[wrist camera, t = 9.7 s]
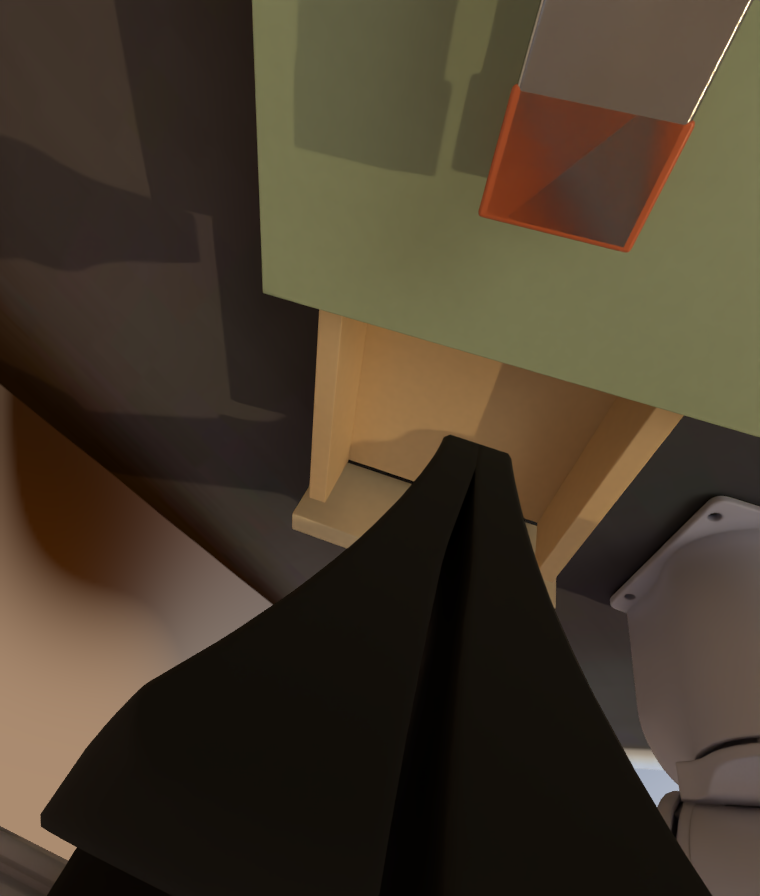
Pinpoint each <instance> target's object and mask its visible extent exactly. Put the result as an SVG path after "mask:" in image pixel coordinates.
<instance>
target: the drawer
mask: <svg viewBox="0 0 760 896" xmlns="http://www.w3.org/2000/svg"><path fill="white" fill-rule="evenodd" d="M683 416H684V415H681V414H677V413H674V412H670V411H667V410H664V409H660V408H657V407H653V406H650V405H646V404H643V403H640V402H636V401H633V400H629V399H626V398H622V397H619V396H615V395H612V394H609V393H605V392H602V391H598V390H595V389H591V388H588V387H584V386H581V385H578V384H574V383H571V382H567V381H564V380H560V379H557V378H553V377H550V376H547V375H543V374H540V373H536V372H533V371H529V370H526V369H523V368H519V367H516V366H512V365H509V364H505V363H502V362H498V361H495V360H492V359H488V358H485V357H481V356H478V355H474V354H471V353H467V352H464V351H461V350H457V349H454V348H450V347H447V346H443V345H440V344H437V343H433V342H430V341H426V340H423V339H419V338H416V337H412V336H409V335H406V334H402V333H399V332H395V331H392V330H388V329H385V328H381V327H378V326H375V325H371V324H368V323H364V322H361V321H357V320H354V319H351V318H347V317H344V316H340V315H337V314H333V313H330V312H326V311H323V310H320V309H319V321H318V339H317V358H316V376H315V395H314V414H313V432H312V451H311V469H310V486H309V487H308V489H307V491H306V492H305V494H304V496H303V497H302V499H301V500H300V502H299V504H298V505H297V507H296V509H295V510H294V512H293V513H292V529H295V530H297V531H300V532H303V533H306V534H308V535H311V536H314V537H317V538H319V539H322V540H325V541H328V542H330V543H333V544H336V545H339V546H342V547H344V548H348V547H350V546H351V545H352V544H353V543H354V542H355V541H356V540H358V539H359V538H360V537H361V536H362V535H363V534H364V533H365V532H366V531H367V530H369V529H370V528H371V527H372V526H373V525H374V524H375V523H376V522H377V521H378V520H379V519H380V518H381V517H382V516H383V515H384V514H385V513H386V512H387V511H388V510H389V509H390V508H391V507H392V506H393V505H394V504H395V503H396V502H397V500H398V499H399V498H400V497H401V496H402V495H403V494H404V493H405V492H406V490H407V489H408V488H409V487H410V486H411V484H410V483H407V482H404V481H401V480H398V479H395V478H392V477H389V476H386V475H383V474H381V473H378V472H375V471H372V470H369V469H366V468H363V467H360V466H357V465H354V464H351V463H348V460H352V461H355V462H358V463H361V464H364V465H367V466H370V467H373V468H376V469H379V470H382V471H385V472H388V473H391V474H394V475H397V476H400V477H403V478H406V479H409V480H412V481H415V480H416V479H417V477H418V476H419V475H420V474H421V473H422V471H423V470H424V469H425V467H426V466H427V465H428V463H429V462H430V460H431V459H432V458H433V456H434V455H435V453H436V451H437V450H438V448H439V446H440V444H441V442H442V440H443V437H445V436H448V435H453V436H456V437H460V438H463V439H466V440H469V441H472V442H475V443H478V444H481V445H484V446H487V447H490V448H493V449H496V450H499V451H502V452H505V453H508V454H509V455H510V457H511V459H512V466H513V472H514V477H515V483H516V487H517V492H518V496H519V500H520V505H521V509H522V513H523V516H524V518H525V519H528V520H531V521H534V522H537V526H535V525H532V524H529V523H526V522H525V524H526V527H527V530H528V534H529V537H530V541H531V544H532V547H533V551H534V554H535V557H536V560H537V563H538V566H539V569H540V572H541V574H542V577H543V580H544V583H545V585H546V588H547V591H548V594H549V596H550V599H551V601H552V604H553V606H554V609H555V608H556V577H557V576H558V574H559V573H560V572H561V571H562V569H563V568H564V567H565V565H566V564H567V563H568V562H569V560H570V559H571V558H572V557H573V555H574V554H575V553H576V552H577V550H578V549H579V548H580V546H581V545H582V544H583V543H584V541H585V540H586V539H587V538H588V536H589V535H590V534H591V533H592V531H593V530H594V529H595V527H596V526H597V525H598V524H599V522H600V521H601V520H602V519H603V517H604V516H605V515H606V514H607V512H608V511H609V510H610V508H611V507H612V506H613V505H614V503H615V502H616V501H617V500H618V498H619V497H620V496H621V495H622V493H623V492H624V491H625V489H626V488H627V487H628V486H629V484H630V483H631V482H632V481H633V479H634V478H635V477H636V475H637V474H638V473H639V472H640V470H641V469H642V468H643V467H644V465H645V464H646V463H647V462H648V460H649V459H650V458H651V456H652V455H653V454H654V453H655V451H656V450H657V449H658V448H659V446H660V445H661V444H662V443H663V441H664V440H665V439H666V437H667V436H668V435H669V434H670V432H671V431H672V430H673V429H674V427H675V426H676V425H677V424H678V422H679V421H680V420H681V418H682V417H683Z"/></svg>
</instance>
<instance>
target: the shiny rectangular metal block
mask: <svg viewBox="0 0 760 896" xmlns="http://www.w3.org/2000/svg"><path fill="white" fill-rule="evenodd" d="M753 1H754V0H540V3H539V6H538V10H537V13H536V17H535V21H534V24H533V28H532V31H531V35H530V39H529V42H528V46H527V50H526V53H525V57H524V60H523V64H522V68H521V71H520V75H519V79H518V82H517V84H515V85H514V86H513V87H512V89H511V93H510V97H509V100H508V104H507V108H506V111H505V115H504V119H503V122H502V126H501V130H500V133H499V137H498V141H497V145H496V148H495V152H494V156H493V159H492V163H491V167H490V170H489V174H488V178H487V181H486V185H485V189H484V192H483V196H482V200H481V204H480V207H479V211H478V214H479V216H480V217H483V218H487V219H491V220H495V221H499V222H503V223H507V224H511V225H515V226H520V227H524V228H528V229H532V230H536V231H540V232H544V233H548V234H552V235H556V236H560V237H564V238H568V239H572V240H576V241H580V242H584V243H588V244H592V245H596V246H600V247H604V248H608V249H612V250H616V251H620V252H624V253H627V252H629V251H630V250H631V249H632V247H633V245H634V243H635V242H636V240H637V238H638V236H639V234H640V232H641V230H642V228H643V226H644V224H645V222H646V220H647V218H648V216H649V214H650V212H651V210H652V209H653V207H654V205H655V203H656V201H657V199H658V197H659V195H660V193H661V191H662V189H663V187H664V185H665V183H666V181H667V179H668V177H669V176H670V174H671V172H672V170H673V168H674V166H675V164H676V162H677V160H678V158H679V156H680V154H681V152H682V150H683V148H684V146H685V144H686V142H687V141H688V139H689V137H690V135H691V133H692V131H693V129H694V127H695V122H694V121H693V119H694V117H695V115H696V113H697V111H698V109H699V107H700V105H701V103H702V101H703V100H704V98H705V96H706V94H707V92H708V90H709V88H710V86H711V84H712V82H713V80H714V78H715V76H716V74H717V72H718V70H719V68H720V66H721V64H722V62H723V60H724V58H725V56H726V54H727V52H728V50H729V48H730V46H731V44H732V43H733V41H734V39H735V37H736V35H737V33H738V31H739V29H740V27H741V25H742V23H743V21H744V19H745V17H746V15H747V13H748V11H749V9H750V7H751V5H752V3H753Z"/></svg>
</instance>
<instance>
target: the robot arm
mask: <svg viewBox="0 0 760 896" xmlns="http://www.w3.org/2000/svg"><path fill="white" fill-rule="evenodd" d="M711 513H717V514H714V515H710V514H711ZM610 605H611V606H612V607H613V608H614V609H616V610H619V611H622V612H625V613H627V619H628V628H629V637H630V646H631V655H632V664H633V673H634V682H635V691H636V700H637V709H638V715H639V720H640V724H641V728H642V731H643V733H644V736H645V738H646V740H647V742H648V745H649V746H650V748H651V750H652V752H653V754H654V755H655V757H656V759H657V760H658V762H659V763H660V765H661V766H662V768H663V769H664V770H665V771H666V773H667V774H668V775H669V776H670V777H671V778H672V779H673V780H674V781H675V782H676V783H677V784H678V785H679V790H680V791H672V792H670V793H667V794H665V796H664V797H663V798H662V799H661V801H660V803H659V805H658V807H656V805H655V803H654V802H653V800H652V798H651V797H650V795H649V793H648V792H647V790H646V788H645V787H644V785H643V783H642V781H641V780H640V778H639V776H638V775H637V773H636V772H635V770H634V768H633V766H632V764H631V762H630V760H629V759H628V757H627V755H626V753H625V751H624V749H623V747H622V746H621V744H620V742H619V740H618V738H617V736H616V735H615V733H614V731H613V729H612V727H611V725H610V724H609V722H608V720H607V718H606V716H605V714H604V712H603V711H602V709H601V707H600V705H599V703H598V701H597V700H596V698H595V696H594V694H593V692H592V690H591V688H590V686H589V684H588V682H587V680H586V678H585V676H584V674H583V671H582V669H581V667H580V665H579V663H578V661H577V659H576V657H575V655H574V653H573V650H572V648H571V646H570V644H569V641H568V639H567V637H566V635H565V632H564V630H563V628H562V626H561V623H560V621H559V619H558V616H557V614H556V611H555V609H554V606H553V604H552V601H551V599H550V596H549V594H548V591H547V588H546V585H545V583H544V580H543V577H542V574H541V572H540V569H539V566H538V563H537V560H536V557H535V554H534V551H533V547H532V544H531V541H530V537H529V534H528V530H527V527H526V524H525V520H524V516H523V513H522V509H521V505H520V500H519V496H518V492H517V487H516V483H515V477H514V472H513V466H512V459H511V457H510V455H509V454H508V453H505V452H502V451H499V450H496V449H493V448H490V447H487V446H484V445H481V444H478V443H475V442H472V441H469V440H466V439H463V438H460V437H456V436H453V435H448V436H445V437H443V440H442V442H441V444H440V446H439V448H438V450H437V451H436V453H435V455H434V456H433V458H432V459H431V460H430V462H429V463H428V465H427V466H426V467H425V469H424V470H423V471H422V473H421V474H420V475H419V476H418V477H417V479H416V480H415V481H414V482H413V483H412V484H411V486H410V487H409V488H408V489H407V490H406V492H405V493H404V494H403V495H402V496H401V497H400V498H399V499H398V500H397V502H396V503H395V504H394V505H393V506H392V507H391V508H390V509H389V510H388V511H387V512H386V513H385V514H384V515H383V516H382V517H381V518H380V519H379V520H378V521H377V522H376V523H375V524H374V525H373V526H372V527H371V528H370V529H369V530H367V531H366V532H365V533H364V534H363V535H362V536H361V537H360V538H359V539H358V540H356V541H355V542H354V543H353V544H352V545H351V546H350V547H348V548H347V549H346V550H345V551H344V552H343V553H341V554H340V555H339V556H338V557H337V558H335V559H334V560H333V561H332V562H330V563H329V564H328V565H327V566H325V567H324V568H323V569H322V570H320V571H319V572H318V573H316V574H315V575H314V576H313V577H311V578H310V579H309V580H307V581H306V582H305V583H303V584H302V585H301V586H299V587H298V588H297V589H295V590H294V591H293V592H291V593H290V594H288V595H287V596H286V597H284V598H283V599H281V600H280V601H278V602H277V603H275V604H274V605H272V606H271V607H269V608H268V609H266V610H265V611H264V612H262V613H261V614H259V615H257V616H256V617H255V618H253V619H252V620H250V621H249V622H247V623H246V624H244V625H243V626H241V627H240V628H238V629H237V630H235V631H234V632H232V633H230V634H229V635H227V636H226V637H224V638H222V639H221V640H219V641H218V642H216V643H214V644H213V645H211V646H209V647H208V648H206V649H204V650H202V651H201V652H199V653H197V654H196V655H194V656H192V657H191V658H189V659H187V660H186V661H184V662H182V663H180V664H179V665H177V666H175V667H174V668H172V669H170V670H168V671H167V672H165V673H163V674H162V675H160V676H158V677H156V678H155V679H153V680H151V681H150V682H148V683H147V684H146V685H144V686H143V687H142V688H141V689H140V690H138V691H137V693H135V694H134V695H133V696H132V697H131V698H130V699H129V700H128V702H127V703H126V704H125V705H124V706H123V707H122V708H121V709H120V710H119V711H118V712H117V713H116V714H115V715H114V716H113V717H112V718H111V720H110V721H109V722H108V723H107V724H106V725H105V726H104V727H103V729H102V730H101V731H100V732H99V733H98V735H97V736H96V737H95V738H94V739H93V741H92V742H91V743H90V744H89V745H88V747H87V748H86V749H85V751H84V752H83V754H82V755H81V757H80V758H79V759H78V761H77V762H76V764H75V765H74V766H73V768H72V769H71V771H70V772H69V774H68V775H67V777H66V778H65V780H64V781H63V782H62V784H61V785H60V787H59V788H58V790H57V791H56V793H55V794H54V796H53V797H52V798H51V800H50V802H49V803H48V804H47V806H46V807H45V809H44V810H43V812H42V813H41V827H43V828H44V829H46V830H47V831H49V832H51V833H52V834H54V835H56V836H58V837H59V838H61V839H63V840H65V841H67V842H69V843H71V844H72V845H74V846H76V847H77V848H76V850H75V851H74V853H73V855H72V856H71V858H70V859H69V861H68V860H66V859H64V858H62V857H60V856H58V855H56V854H54V853H52V852H50V851H48V850H46V849H44V848H42V847H40V846H38V845H36V844H34V843H32V842H30V841H28V840H26V839H24V838H22V837H20V836H18V835H16V834H15V833H13V832H11V831H9V830H7V829H5V828H3V827H1V826H0V896H760V506H757V505H754V504H750V503H747V502H744V501H741V500H737V499H734V498H731V497H727V496H716V497H713V498H711V499H710V500H708V501H707V502H706V503H705V504H704V505H703V506H702V507H701V508H700V509H699V510H698V511H697V512H696V513H695V514H694V515H693V516H692V517H691V518H690V519H689V520H688V521H687V522H686V523H685V524H684V525H683V526H682V527H681V528H680V529H679V530H678V531H677V532H676V533H675V534H674V535H673V536H672V537H671V538H670V539H669V540H668V541H667V542H666V543H665V544H664V545H663V546H662V547H661V548H660V549H659V550H658V551H657V552H656V553H655V554H654V555H653V556H652V557H651V558H650V559H649V560H648V561H647V562H646V563H645V564H644V565H643V566H642V567H641V568H640V569H639V570H638V571H637V572H636V573H635V574H634V575H633V576H632V577H631V578H630V579H629V580H628V581H627V582H626V583H625V584H624V585H623V586H622V587H621V588H620V589H619V590H618V591H617V592H616V593H615V594H614V595H613V596H612V597H611V598H610Z"/></svg>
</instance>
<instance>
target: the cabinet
mask: <svg viewBox="0 0 760 896" xmlns="http://www.w3.org/2000/svg"><path fill="white" fill-rule="evenodd" d="M539 3H540V0H252V17H253V44H254V71H255V98H256V124H257V151H258V178H259V205H260V231H261V258H262V285H263V293H264V294H268V295H271V296H275V297H278V298H282V299H285V300H289V301H292V302H295V303H299V304H302V305H306V306H309V307H313V308H316V309H320V310H323V311H326V312H330V313H333V314H337V315H340V316H344V317H347V318H351V319H354V320H357V321H361V322H364V323H368V324H371V325H375V326H378V327H381V328H385V329H388V330H392V331H395V332H399V333H402V334H406V335H409V336H412V337H416V338H419V339H423V340H426V341H430V342H433V343H437V344H440V345H443V346H447V347H450V348H454V349H457V350H461V351H464V352H467V353H471V354H474V355H478V356H481V357H485V358H488V359H492V360H495V361H498V362H502V363H505V364H509V365H512V366H516V367H519V368H523V369H526V370H529V371H533V372H536V373H540V374H543V375H547V376H550V377H553V378H557V379H560V380H564V381H567V382H571V383H574V384H578V385H581V386H584V387H588V388H591V389H595V390H598V391H602V392H605V393H609V394H612V395H615V396H619V397H622V398H626V399H629V400H633V401H636V402H640V403H643V404H646V405H650V406H653V407H657V408H660V409H664V410H667V411H670V412H674V413H677V414H681V415H684V416H688V417H691V418H695V419H698V420H701V421H705V422H708V423H712V424H715V425H719V426H722V427H726V428H729V429H732V430H736V431H739V432H743V433H746V434H750V435H753V436H756V437H760V0H754V1H753V3H752V5H751V7H750V9H749V11H748V13H747V15H746V17H745V19H744V21H743V23H742V25H741V27H740V29H739V31H738V33H737V35H736V37H735V39H734V41H733V43H732V44H731V46H730V48H729V50H728V52H727V54H726V56H725V58H724V60H723V62H722V64H721V66H720V68H719V70H718V72H717V74H716V76H715V78H714V80H713V82H712V84H711V86H710V88H709V90H708V92H707V94H706V96H705V98H704V100H703V101H702V103H701V105H700V107H699V109H698V111H697V113H696V115H695V117H694V119H693V121H694V122H695V127H694V129H693V131H692V133H691V135H690V137H689V139H688V141H687V142H686V144H685V146H684V148H683V150H682V152H681V154H680V156H679V158H678V160H677V162H676V164H675V166H674V168H673V170H672V172H671V174H670V176H669V177H668V179H667V181H666V183H665V185H664V187H663V189H662V191H661V193H660V195H659V197H658V199H657V201H656V203H655V205H654V207H653V209H652V210H651V212H650V214H649V216H648V218H647V220H646V222H645V224H644V226H643V228H642V230H641V232H640V234H639V236H638V238H637V240H636V242H635V243H634V245H633V247H632V249H631V250H630V251H629V252H627V253H624V252H620V251H616V250H612V249H608V248H604V247H600V246H596V245H592V244H588V243H584V242H580V241H576V240H572V239H568V238H564V237H560V236H556V235H552V234H548V233H544V232H540V231H536V230H532V229H528V228H524V227H520V226H515V225H511V224H507V223H503V222H499V221H495V220H491V219H487V218H483V217H480V216H479V214H478V211H479V207H480V204H481V200H482V196H483V192H484V189H485V185H486V181H487V178H488V174H489V170H490V167H491V163H492V159H493V156H494V152H495V148H496V145H497V141H498V137H499V133H500V130H501V126H502V122H503V119H504V115H505V111H506V108H507V104H508V100H509V97H510V93H511V89H512V87H513V86H514V85H515V84H517V82H518V79H519V75H520V71H521V68H522V64H523V60H524V57H525V53H526V50H527V46H528V42H529V39H530V35H531V31H532V28H533V24H534V21H535V17H536V13H537V10H538V6H539Z"/></svg>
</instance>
